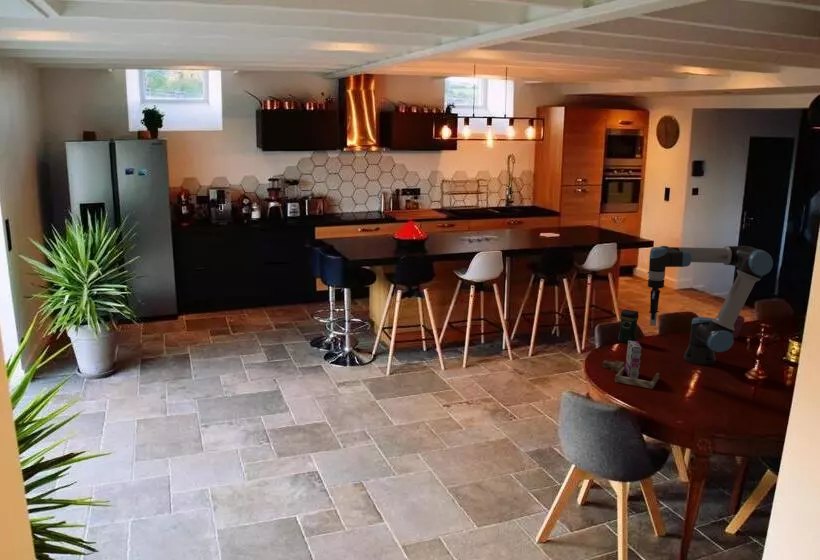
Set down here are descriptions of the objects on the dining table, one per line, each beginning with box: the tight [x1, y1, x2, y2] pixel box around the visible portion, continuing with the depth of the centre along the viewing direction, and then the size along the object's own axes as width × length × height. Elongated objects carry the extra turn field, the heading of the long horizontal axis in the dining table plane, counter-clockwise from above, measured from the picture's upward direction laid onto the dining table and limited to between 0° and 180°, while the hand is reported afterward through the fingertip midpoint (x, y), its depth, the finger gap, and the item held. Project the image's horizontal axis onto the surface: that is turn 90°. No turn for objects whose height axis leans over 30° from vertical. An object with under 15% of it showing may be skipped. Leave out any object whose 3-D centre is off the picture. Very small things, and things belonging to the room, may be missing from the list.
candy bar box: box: [624, 341, 643, 379], centre depth 335 cm, size 11×5×16 cm, turn 173°
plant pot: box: [732, 314, 745, 339], centre depth 403 cm, size 14×14×13 cm
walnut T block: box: [602, 360, 625, 373], centre depth 347 cm, size 9×10×2 cm
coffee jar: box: [618, 308, 640, 344], centre depth 389 cm, size 10×8×19 cm
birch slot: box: [614, 366, 660, 390], centre depth 330 cm, size 17×15×3 cm
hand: (652, 325), depth 341 cm, fingers closed
